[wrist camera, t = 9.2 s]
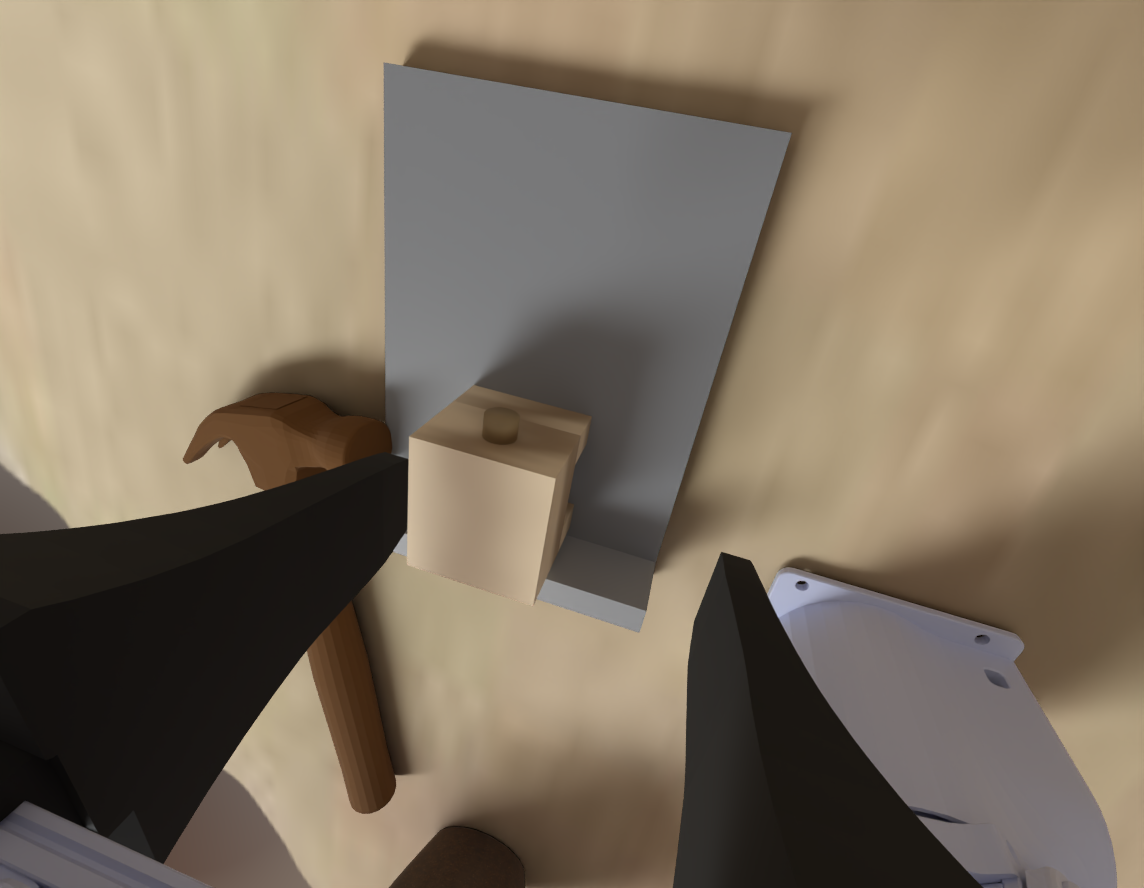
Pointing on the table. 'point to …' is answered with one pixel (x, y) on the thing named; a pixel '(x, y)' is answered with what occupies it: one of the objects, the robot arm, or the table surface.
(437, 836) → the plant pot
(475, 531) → the cabinet block
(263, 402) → the hammer
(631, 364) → the wall board
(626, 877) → the table surface
